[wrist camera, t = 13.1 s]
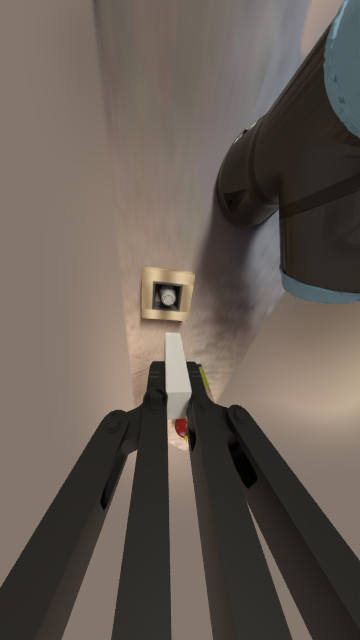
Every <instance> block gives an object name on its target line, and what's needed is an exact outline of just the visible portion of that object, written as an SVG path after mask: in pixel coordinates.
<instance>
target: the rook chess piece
mask: <svg viewBox="0 0 360 640" xmlns="http://www.w3.org/2000/svg"><path fill="white" fill-rule="evenodd" d="M159 293H160V296H161V300H162V302H163V304H165V305H168V306H169V305H172V304H174V302H175V299H176V298H175V294H176V290H175V288H174V286H172V285H165V284H164V285H163V286H161V288H160V292H159Z"/></svg>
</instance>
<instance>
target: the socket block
mask: <svg viewBox="0 0 360 640" xmlns="http://www.w3.org/2000/svg"><path fill="white" fill-rule="evenodd" d="M194 280H195V274H193V273H192V272H185V271H177V270H169V269H162V268H154V267H146V266H144V267H142V318H150V319H165V320H179V321H188V315H189V309H190V303H191V297H192V291H193V286H194ZM156 284H165V285H174V286H178V293H177V301H176V304H175V303H174V304H172V305H169V306H168V305H165V304H163V302H155V297H156Z"/></svg>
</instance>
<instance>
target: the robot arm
mask: <svg viewBox="0 0 360 640" xmlns="http://www.w3.org/2000/svg"><path fill="white" fill-rule="evenodd" d="M217 196H218V202H219V206H220V209H221V211H222V213H223V215H224V216H225V218H226V219H227V220H228V221H229V222H230V223H231V224H233V225H235V226H237V227H242V228H247V227H252V226H255V225H257V224H260V223H262V222H264V221H266V220H267V219H269V218H270V217H271V216H272V215H273V214H274V213H275V212H276V211H277V210H278V209H279V233H280V266H279V270H280V272H281V277H282V285H283V287H284V289H285V290H286V291H287V292H289V293H290V294H291V295H293V296H295V297H297V298H300V299H303V300H306V301H311V302H317V303H325V304H350V303H355V302H356V301H360V0H344V1H343V3H342V5H341V6H340V8H339V10H338V13H337V15H336V16H335V18H334V19H333V20H332V22H331V23H330V25H329V26H328V27H327V29H326V30H325V32H324V33H323V35H322V36H321V37H320V39H319V40H318V42H317V43H316V44H315V46H314V47H313V49H312V50H311V52H310V53H309V54H308V56H307V57H306V59H305V60H304V61H303V63H302V64H301V66H300V67H299V69H298V70H297V71H296V73H295V74H294V76H293V77H292V79H291V80H290V81H289V83H288V84H287V86H286V87H285V88H284V90H283V91H282V93H281V94H280V96H279V97H278V98H277V100H276V101H275V103H274V104H273V105H272V107H271V108H270V110H269V111H268V113H267V114H266V115H264V116H263V117H261V118H260V119H259V120H258V121H257V122H255V123H253V124H251V125H250V126H248V127H247V128H246V129H245V130H244V131H243V132H242V133H241V134H240V135H239V136H238V137H237V138H236V140H235V141H234V142H233V144H232V146H231V147H230V149H229V151H228V152H227V154H226V156H225V158H224V160H223V162H222V165H221V168H220V171H219V176H218V183H217ZM186 414H187V426H186V430H185V436H186V435H188V443H189V451H190V459H191V466H192V475H193V483H194V491H195V499H196V507H197V515H198V521H199V530H200V538H201V546H202V554H203V562H204V570H205V578H206V586H207V594H208V602H209V609H210V618H211V625H212V634H213V640H292V637H291V634H290V631H289V628H288V625H287V622H286V619H285V616H284V613H283V610H282V607H281V604H280V601H279V598H278V595H277V592H276V589H275V586H274V583H273V580H272V577H271V574H270V571H269V569H268V565H267V562H266V559H265V556H264V553H263V550H262V547H261V544H260V541H259V538H258V535H257V532H256V529H255V526H254V523H253V520H252V517H251V514H250V512H249V508H248V505H249V507H250V509H251V511H252V513H253V515H254V517H255V519H256V522H257V523H258V526H259V528H260V530H261V532H262V534H263V536H264V538H265V540H266V543H267V545H268V546H269V549H270V551H271V553H272V555H273V557H274V559H275V561H276V564H277V566H278V568H279V570H280V572H281V574H282V576H283V578H284V580H285V582H286V585H287V587H288V589H289V591H290V593H291V595H292V597H293V599H294V601H295V604H296V606H297V608H298V610H299V612H300V614H301V616H302V618H303V620H304V622H305V624H306V627H307V629H308V631H309V633H310V635H311V637H312V639H313V640H360V561H359V559H358V558H357V556H356V555H355V554H354V552H353V551H352V550H351V549H350V547H349V546H348V545H347V543H346V542H345V541H344V539H343V538H342V537H341V535H340V534H339V533H338V531H337V530H336V529H335V527H334V526H333V525H332V523H331V522H330V521H329V519H328V518H327V517H326V515H325V514H324V513H323V511H322V510H321V509H320V507H319V506H318V505H317V503H316V502H315V501H314V499H313V498H312V497H311V495H310V494H309V493H308V492H307V490H306V489H305V488H304V486H303V485H302V483H301V482H300V481H299V479H298V478H297V477H296V475H295V474H294V473H293V471H292V470H291V469H290V467H289V466H288V465H287V463H286V462H285V461H284V459H283V458H282V457H281V455H280V454H279V453H278V451H277V450H276V449H275V447H274V446H273V445H272V443H271V442H270V441H269V439H268V438H267V437H266V435H265V434H264V433H263V431H262V430H261V429H260V427H259V426H258V425H257V424H256V422H255V421H254V420H253V418H252V417H251V415H250V414H249V413H248V412H247V411H246V410H245V409H244V408H243V407H241V406H239V405H232V406H230V407H229V408H226V407H223V406H220V405H217V404H215V403H214V402H213V401H212V400H211V399H210V398H209V397H208V395H207V392H206V389H205V385H204V382H203V379H202V377H201V373H200V369H199V366H198V365H197V364H196V362H195V361H185V356H184V351H183V346H182V341H181V336H180V333H167V332H166V333H165V345H164V361H153V362H152V364H151V365H150V369H149V376H148V384H147V391H146V393H145V395H144V398H143V403H142V404H141V405H140V406H139V407H137V408H135V409H133V410H131V411H128V412H125V411H123V410H115V411H112V412H110V413H109V414H108V415H106V416H105V417H104V419H103V420H102V421H101V423H100V425H99V426H98V428H97V429H96V431H95V433H94V434H93V436H92V438H91V439H90V441H89V443H88V444H87V446H86V448H85V449H84V451H83V452H82V454H81V456H80V457H79V459H78V461H77V462H76V464H75V466H74V467H73V469H72V471H71V472H70V474H69V476H68V477H67V479H66V480H65V482H64V484H63V485H62V487H61V489H60V490H59V492H58V494H57V496H56V497H55V499H54V500H53V502H52V504H51V505H50V507H49V509H48V510H47V512H46V514H45V515H44V517H43V518H42V520H41V522H40V523H39V525H38V527H37V528H36V530H35V532H34V533H33V535H32V537H31V538H30V540H29V542H28V543H27V545H26V546H25V548H24V550H23V551H22V553H21V555H20V557H19V558H18V560H17V561H16V563H15V565H14V566H13V568H12V569H11V571H10V573H9V575H8V576H7V578H6V579H5V581H4V583H3V585H2V586H1V588H0V640H61V639H62V636H63V634H64V631H65V628H66V625H67V623H68V620H69V617H70V614H71V611H72V609H73V606H74V603H75V600H76V598H77V594H78V592H79V589H80V587H81V584H82V581H83V578H84V576H85V573H86V570H87V567H88V565H89V562H90V559H91V556H92V553H93V550H94V548H95V545H96V542H97V540H98V537H99V534H100V532H101V529H102V526H103V523H104V520H105V518H106V515H107V512H108V509H109V507H110V504H111V501H112V498H113V496H114V493H115V490H116V487H117V485H118V481H119V479H120V476H121V473H122V471H123V468H124V465H125V462H126V460H127V457H128V454H130V453H132V452H133V451H135V450H137V449H138V450H137V458H136V465H135V472H134V479H133V486H132V494H131V502H130V508H129V516H128V523H127V530H126V537H125V544H124V552H123V559H122V566H121V574H120V580H119V588H118V595H117V602H116V609H115V617H114V624H113V631H112V638H111V640H171V595H170V543H169V542H170V540H169V488H168V433H167V419H185V418H186ZM246 501H247V502H246ZM247 503H248V505H247Z"/></svg>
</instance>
